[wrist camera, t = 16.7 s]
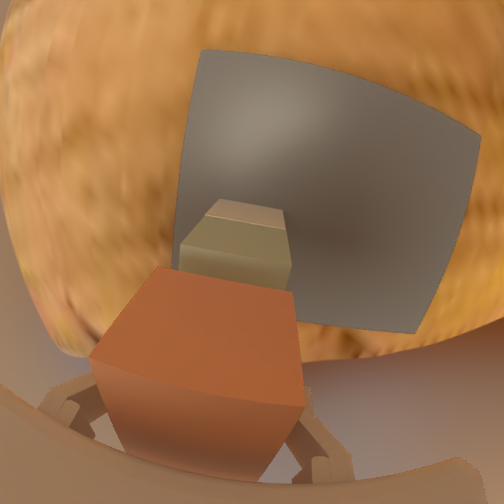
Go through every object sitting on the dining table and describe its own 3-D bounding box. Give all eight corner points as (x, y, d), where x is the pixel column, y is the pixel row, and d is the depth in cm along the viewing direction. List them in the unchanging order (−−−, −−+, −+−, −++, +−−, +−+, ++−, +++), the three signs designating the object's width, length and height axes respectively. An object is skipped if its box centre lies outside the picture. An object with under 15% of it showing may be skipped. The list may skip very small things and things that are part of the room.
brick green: (286, 230, 16) (291, 265, 12) (261, 332, 20) (258, 383, 15) (205, 215, 16) (180, 244, 12) (195, 320, 20) (176, 367, 15)
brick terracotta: (292, 292, 10) (305, 406, 5) (253, 414, 13) (246, 494, 8) (158, 266, 10) (87, 357, 5) (162, 395, 13) (135, 470, 8)
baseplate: (475, 135, 17) (515, 139, 12) (411, 328, 26) (432, 364, 20) (204, 53, 17) (182, 26, 12) (173, 291, 26) (151, 328, 20)
